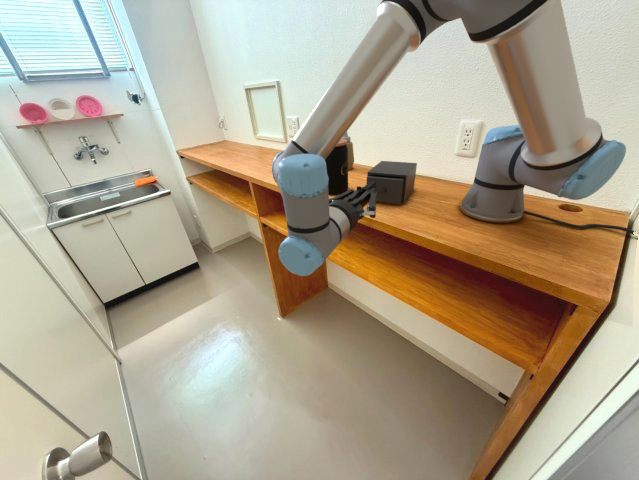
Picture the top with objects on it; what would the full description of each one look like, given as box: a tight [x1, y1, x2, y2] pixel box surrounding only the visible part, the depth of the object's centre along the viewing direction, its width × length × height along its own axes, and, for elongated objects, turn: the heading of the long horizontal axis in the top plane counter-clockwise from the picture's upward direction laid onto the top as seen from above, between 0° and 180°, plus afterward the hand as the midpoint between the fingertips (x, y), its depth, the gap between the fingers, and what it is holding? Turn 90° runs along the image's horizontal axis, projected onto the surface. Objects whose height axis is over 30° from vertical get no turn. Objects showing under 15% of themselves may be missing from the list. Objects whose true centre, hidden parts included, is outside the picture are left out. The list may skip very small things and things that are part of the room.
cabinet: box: [366, 160, 418, 205], centre depth 87 cm, size 15×13×10 cm
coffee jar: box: [325, 139, 349, 196], centre depth 92 cm, size 11×11×18 cm
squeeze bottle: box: [341, 131, 355, 171], centre depth 116 cm, size 8×8×18 cm
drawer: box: [366, 175, 404, 205], centre depth 85 cm, size 15×11×8 cm
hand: (373, 185), depth 70 cm, fingers closed
